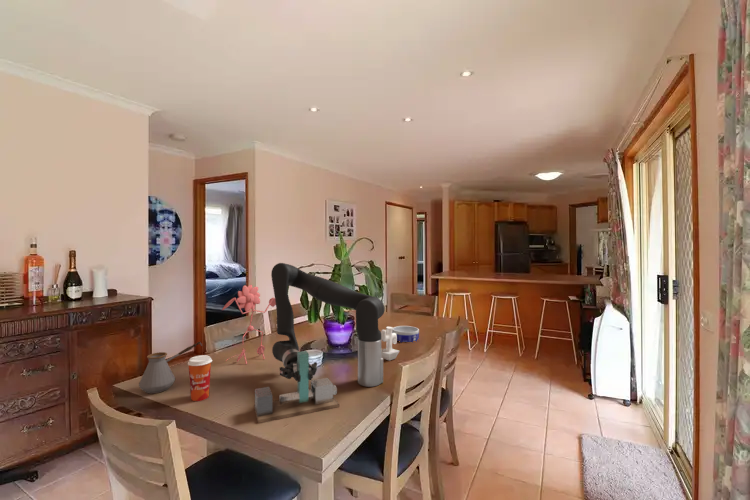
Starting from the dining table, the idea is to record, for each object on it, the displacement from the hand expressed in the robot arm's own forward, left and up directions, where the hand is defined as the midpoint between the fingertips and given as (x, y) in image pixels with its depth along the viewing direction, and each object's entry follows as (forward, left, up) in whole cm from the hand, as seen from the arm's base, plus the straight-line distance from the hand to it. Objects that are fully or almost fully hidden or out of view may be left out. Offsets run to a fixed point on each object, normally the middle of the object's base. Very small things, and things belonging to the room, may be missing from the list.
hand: (305, 378), depth 114 cm
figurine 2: (-49, -34, -11) cm, 60 cm away
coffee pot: (+41, -40, -11) cm, 59 cm away
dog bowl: (-73, -60, -11) cm, 95 cm away
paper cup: (+31, -24, -11) cm, 41 cm away
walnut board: (+2, -3, -10) cm, 11 cm away
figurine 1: (+12, -61, -11) cm, 63 cm away
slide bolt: (-2, -3, -8) cm, 9 cm away
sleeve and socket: (+3, -3, -9) cm, 10 cm away
